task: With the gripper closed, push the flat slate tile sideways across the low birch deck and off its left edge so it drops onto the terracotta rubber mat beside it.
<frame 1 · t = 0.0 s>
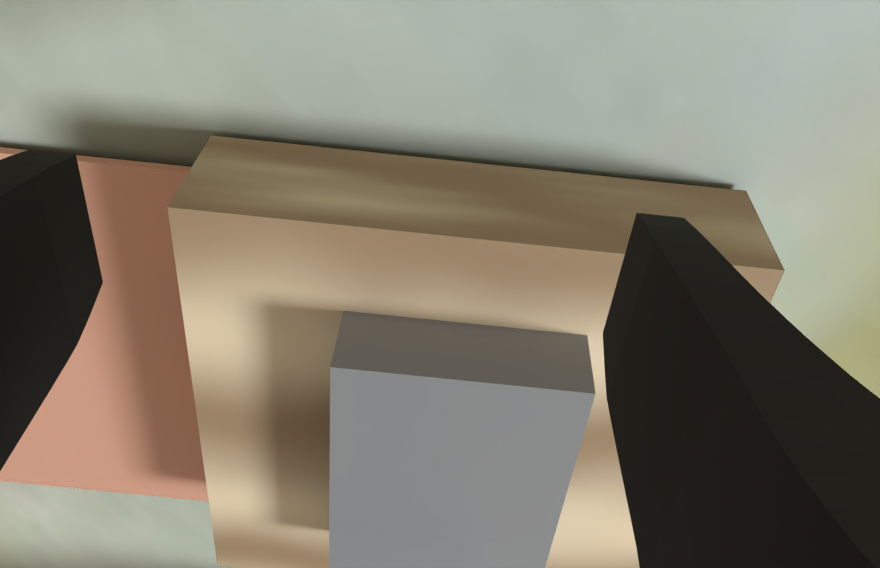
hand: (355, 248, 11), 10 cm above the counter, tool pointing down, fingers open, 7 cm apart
terracotta mat: (60, 343, 26), on the counter
birch deck: (453, 359, 25), on the counter
slate tile: (448, 445, 22), point 3 cm above the counter, touching birch deck
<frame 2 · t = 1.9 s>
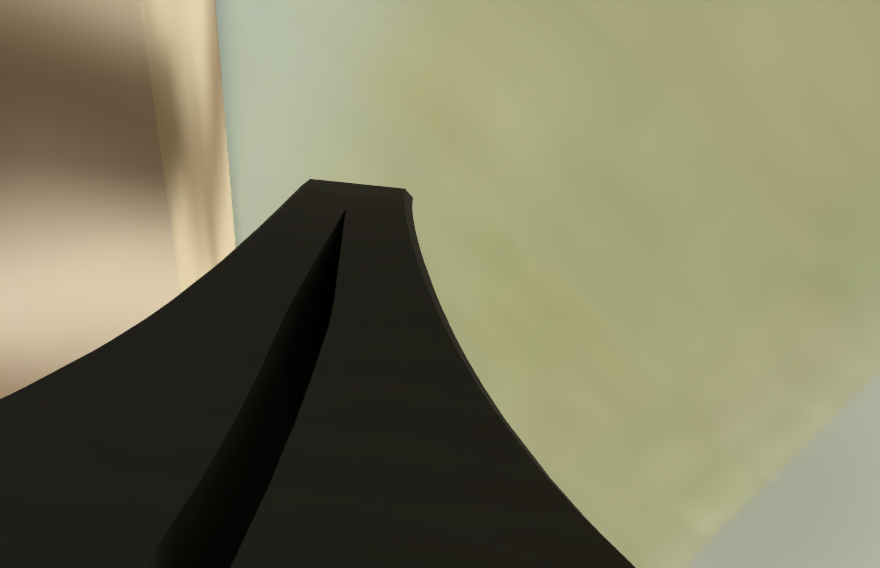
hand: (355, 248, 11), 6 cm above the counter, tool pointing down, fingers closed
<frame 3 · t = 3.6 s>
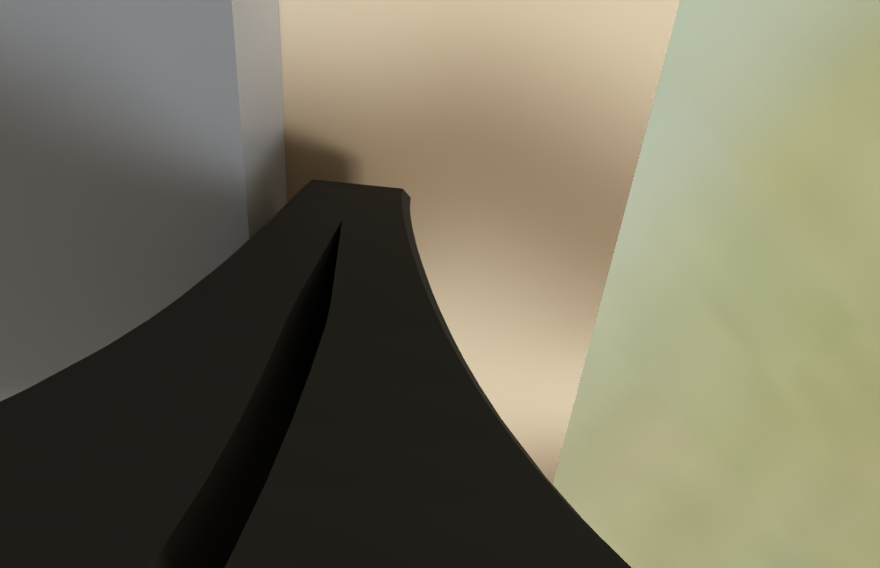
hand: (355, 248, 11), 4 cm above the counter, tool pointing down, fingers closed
birch deck: (189, 89, 14), on the counter
slate tile: (70, 191, 11), point 4 cm above the counter, touching gripper
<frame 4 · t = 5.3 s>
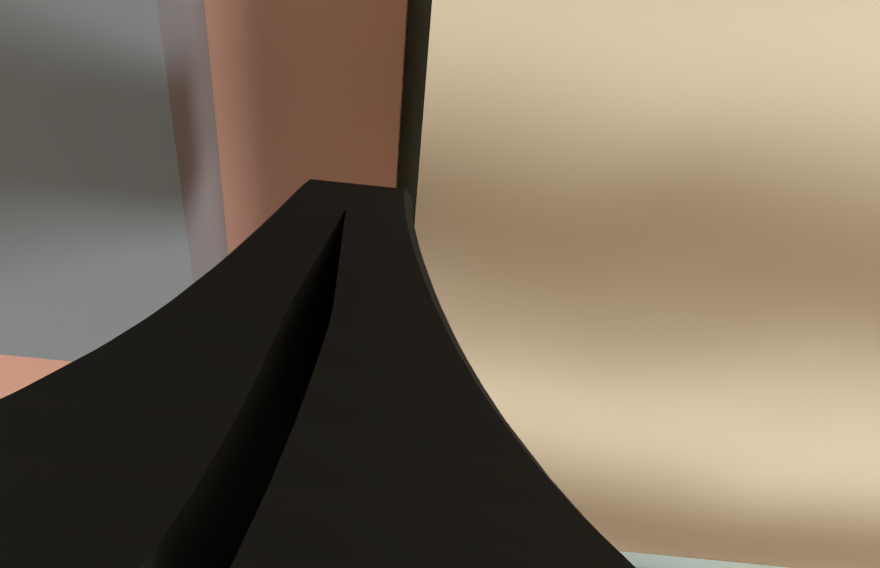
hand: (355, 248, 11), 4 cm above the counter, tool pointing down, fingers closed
terracotta mat: (122, 134, 15), on the counter
birch deck: (828, 155, 14), on the counter
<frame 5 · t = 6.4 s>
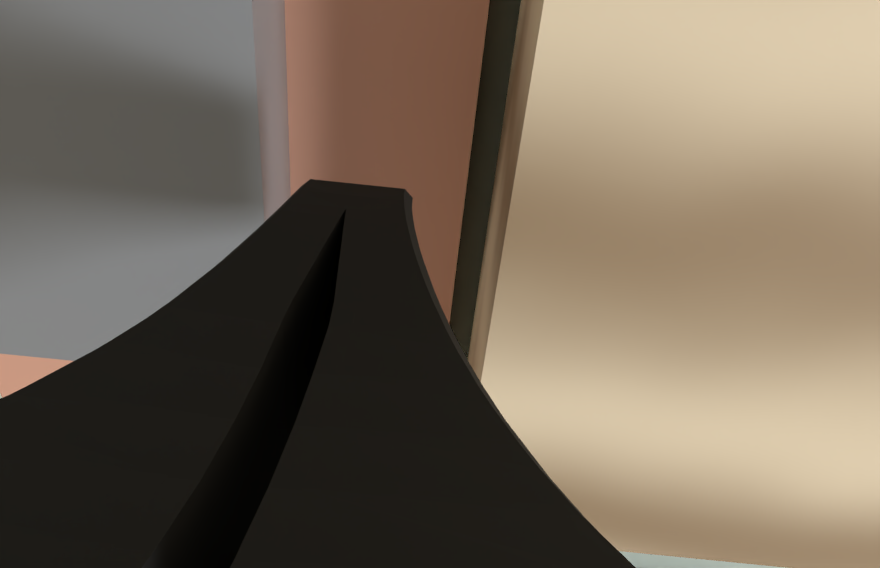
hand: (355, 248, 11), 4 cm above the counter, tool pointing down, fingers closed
terracotta mat: (192, 140, 15), on the counter
slate tile: (62, 147, 12), point 2 cm above the counter, tilted 180°, touching terracotta mat
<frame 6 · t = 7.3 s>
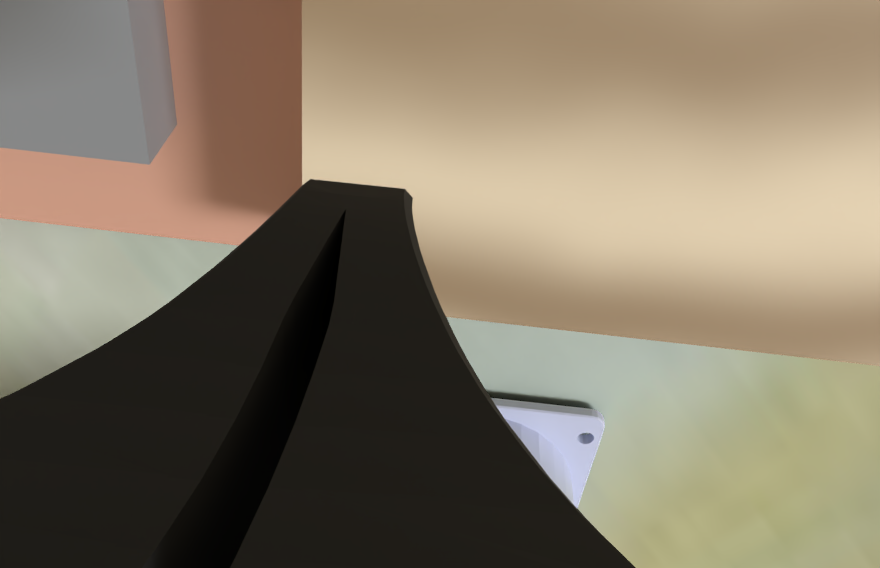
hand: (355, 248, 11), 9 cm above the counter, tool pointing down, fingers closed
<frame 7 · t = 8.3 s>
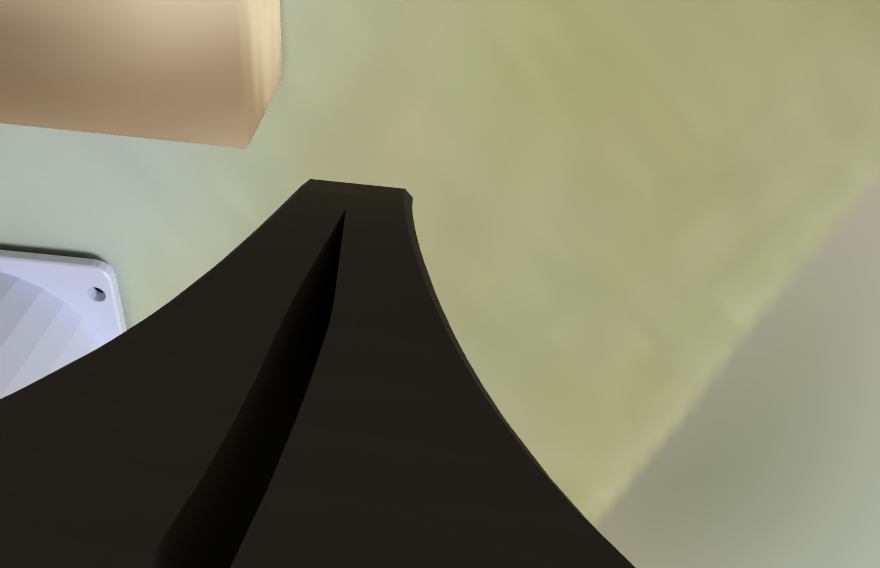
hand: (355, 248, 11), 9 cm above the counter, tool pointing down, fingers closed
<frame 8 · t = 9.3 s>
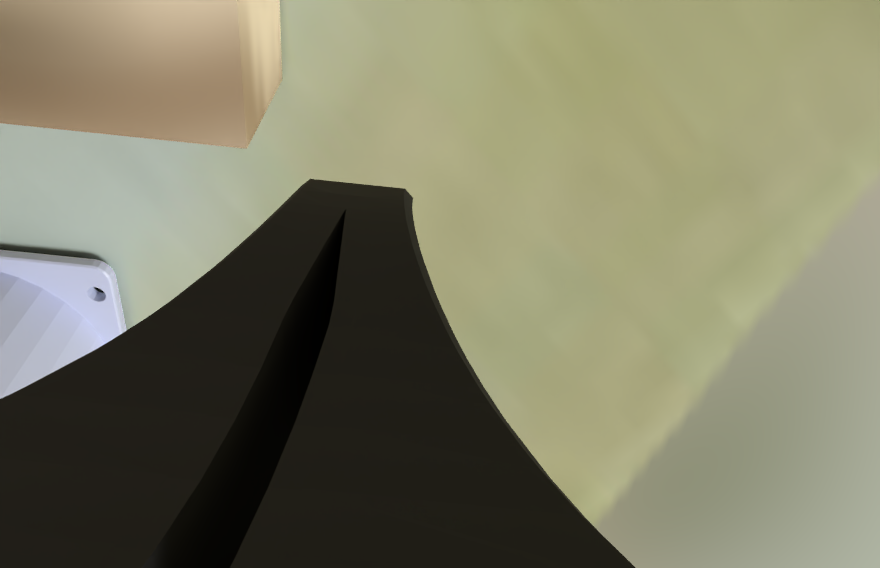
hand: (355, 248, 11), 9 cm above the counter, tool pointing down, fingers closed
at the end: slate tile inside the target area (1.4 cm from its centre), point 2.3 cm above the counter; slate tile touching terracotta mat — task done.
